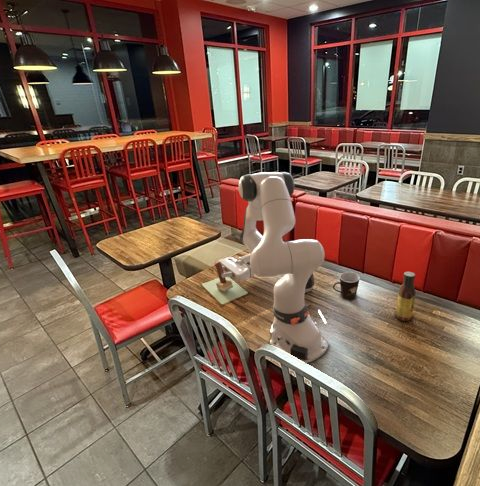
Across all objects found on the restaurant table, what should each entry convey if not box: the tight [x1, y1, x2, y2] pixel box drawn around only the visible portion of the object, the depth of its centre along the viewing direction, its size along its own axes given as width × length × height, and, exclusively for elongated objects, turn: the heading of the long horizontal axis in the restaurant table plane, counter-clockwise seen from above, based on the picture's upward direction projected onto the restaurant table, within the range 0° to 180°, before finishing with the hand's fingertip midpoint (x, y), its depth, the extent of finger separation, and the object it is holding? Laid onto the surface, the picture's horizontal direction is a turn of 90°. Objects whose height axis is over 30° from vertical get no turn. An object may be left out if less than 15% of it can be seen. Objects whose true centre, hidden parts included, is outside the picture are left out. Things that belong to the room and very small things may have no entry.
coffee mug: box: [332, 271, 361, 301], centre depth 139 cm, size 12×9×10 cm
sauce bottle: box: [395, 271, 417, 322], centre depth 122 cm, size 6×6×20 cm
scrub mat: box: [201, 277, 249, 305], centre depth 150 cm, size 22×14×1 cm, turn 36°
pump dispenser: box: [305, 273, 315, 294], centre depth 144 cm, size 10×10×15 cm
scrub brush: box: [214, 260, 233, 291], centre depth 147 cm, size 7×5×13 cm
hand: (219, 273), depth 146 cm, fingers closed on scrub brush, 3 cm apart
